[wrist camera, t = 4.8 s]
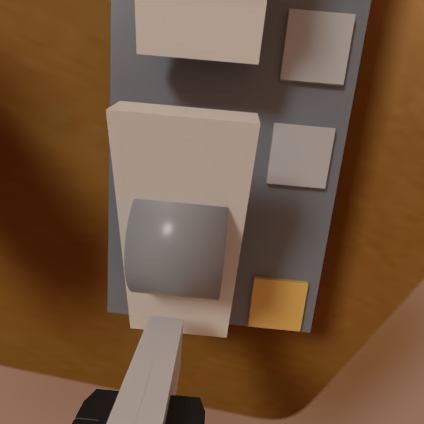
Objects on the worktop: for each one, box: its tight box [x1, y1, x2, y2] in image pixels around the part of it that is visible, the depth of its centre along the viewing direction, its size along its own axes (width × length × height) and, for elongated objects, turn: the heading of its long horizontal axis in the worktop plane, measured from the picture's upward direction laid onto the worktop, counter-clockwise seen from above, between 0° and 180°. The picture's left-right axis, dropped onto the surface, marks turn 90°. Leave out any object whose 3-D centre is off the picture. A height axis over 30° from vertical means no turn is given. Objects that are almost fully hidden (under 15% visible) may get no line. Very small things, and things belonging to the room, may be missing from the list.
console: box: [107, 0, 371, 333], centre depth 17 cm, size 12×25×6 cm, turn 175°
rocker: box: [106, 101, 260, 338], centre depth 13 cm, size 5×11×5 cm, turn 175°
